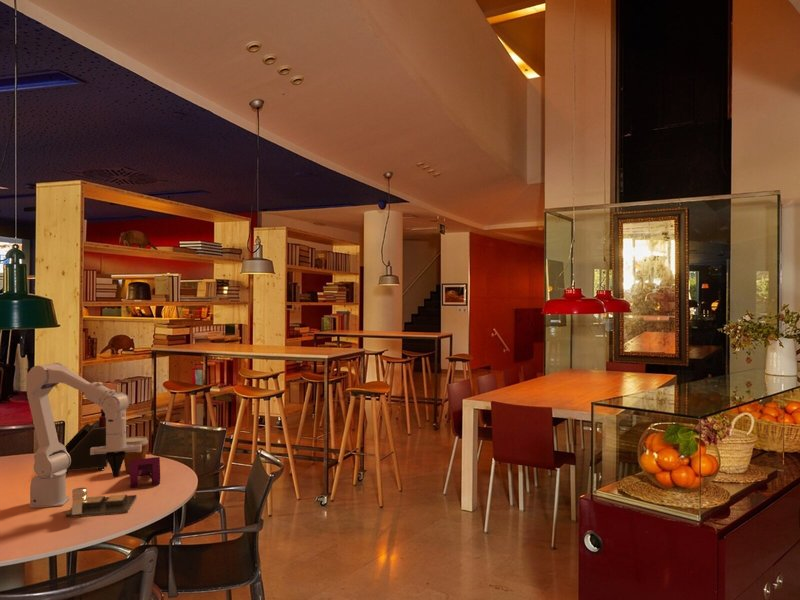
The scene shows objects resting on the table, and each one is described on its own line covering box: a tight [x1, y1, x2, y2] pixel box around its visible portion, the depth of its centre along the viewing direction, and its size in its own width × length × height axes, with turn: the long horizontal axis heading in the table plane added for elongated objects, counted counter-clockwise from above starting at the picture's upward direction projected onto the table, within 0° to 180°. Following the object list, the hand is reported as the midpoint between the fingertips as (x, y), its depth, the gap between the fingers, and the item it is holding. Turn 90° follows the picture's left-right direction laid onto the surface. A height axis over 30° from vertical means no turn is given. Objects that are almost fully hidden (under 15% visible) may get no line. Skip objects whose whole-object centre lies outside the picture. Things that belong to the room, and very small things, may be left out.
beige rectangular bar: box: [71, 487, 88, 515], centre depth 182 cm, size 16×4×3 cm, turn 25°
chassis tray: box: [65, 494, 137, 518], centre depth 189 cm, size 17×14×3 cm
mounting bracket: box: [128, 456, 161, 488], centre depth 217 cm, size 10×8×18 cm
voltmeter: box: [64, 411, 109, 474], centre depth 235 cm, size 16×16×20 cm
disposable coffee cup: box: [123, 436, 149, 474], centre depth 230 cm, size 10×10×12 cm
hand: (116, 476), depth 190 cm, fingers closed
